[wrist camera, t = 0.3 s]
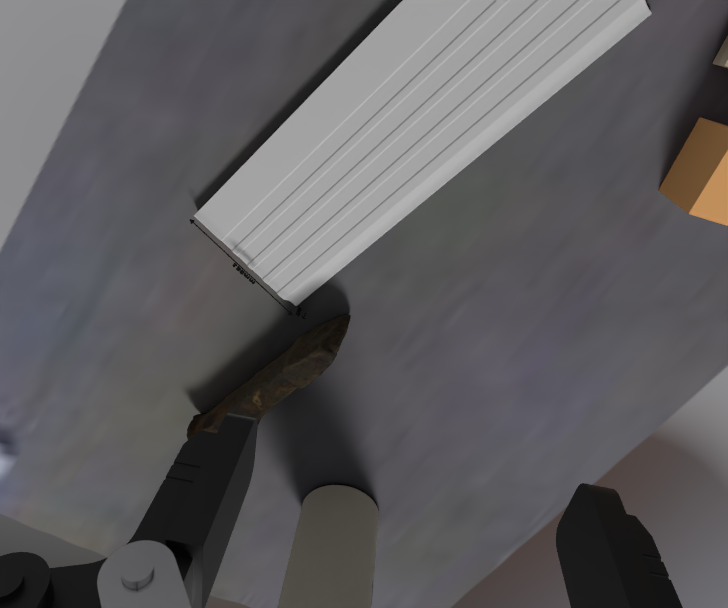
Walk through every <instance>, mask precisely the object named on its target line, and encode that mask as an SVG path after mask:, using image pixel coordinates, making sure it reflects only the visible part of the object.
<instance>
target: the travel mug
mask: <svg viewBox="0 0 728 608" xmlns="http://www.w3.org/2000/svg"><path fill="white" fill-rule="evenodd" d="M378 524H379V511H378V508H377V506H376V504H375V502H374V501H373V500H372V499H371V498H370V497H369V496H368V495H366V494H365V493H363V492H361V491H359V490H357V489H355V488H352V487H348V486H343V485H328V486H323V487H320V488H317V489H315V490H313V491H312V492H310V493H309V494H308V495H307V496H306V498H305V499H304V501H303V504H302V508H301V512H300V516H299V521H298V525H297V529H296V533H295V537H294V541H293V545H292V549H291V553H290V558H289V562H288V566H287V570H286V574H285V578H284V582H283V586H282V591H281V595H280V599H279V603H278V607H277V608H371V605H372V593H373V582H374V570H375V558H376V547H377V535H378Z"/></svg>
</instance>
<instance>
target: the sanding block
mask: <svg viewBox="0 0 728 608" xmlns="http://www.w3.org/2000/svg"><path fill="white" fill-rule="evenodd" d="M659 191H660V192H661V193H663V194H664V195H665V196H666V197H668V198H669V199H670V200H672V201H673V202H674V203H675V204H677V205H678V206H679V207H680V208H682V209H683V210H684V211H686V212H687V213H688V214H691V215H694V216H697V217H701V218H704V219H707V220H711V221H714V222H717V223H720V224H724V225H727V226H728V126H727V125H724V124H720V123H717V122H714V121H711V120H708V119H704V118H701V117H700V118H699V119H698V121H697V123H696V125H695V127H694V128H693V130H692V132H691V134H690V135H689V137H688V139H687V141H686V142H685V144H684V146H683V148H682V149H681V151H680V153H679V155H678V156H677V158H676V160H675V162H674V164H673V165H672V167H671V169H670V171H669V172H668V174H667V176H666V178H665V179H664V181H663V183H662V185H661V186H660V188H659Z"/></svg>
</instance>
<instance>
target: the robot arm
mask: <svg viewBox="0 0 728 608" xmlns="http://www.w3.org/2000/svg"><path fill="white" fill-rule="evenodd" d="M257 425H258V420H257V419H256V418H251V417H246V416H241V415H236V414H231V413H227V414H226V416H225V417H224V419H223V421H222V424H221V426H220V428H219V430H218V432H217V433H213V432H208V431H202V430H200V431H199V432H198V433H197V434H195V435H194V436H193V437H192V438H190V439H189V440H188V441H187V442H186V443H184V444H183V446H182V448H181V450H180V452H179V454H178V455H177V457H176V459H175V461H174V464H173V465H172V466H171V468H170V470H169V472H168V474H167V476H166V479H165V480H164V481H163V483H162V485H161V487H160V488H159V490H158V492H157V494H156V496H155V498H154V499H153V501H152V503H151V505H150V507H149V509H148V510H147V512H146V514H145V516H144V518H143V520H142V521H141V523H140V525H139V527H138V529H137V531H136V532H135V534H134V536H133V537H132V539H131V540H130V541H129V542H128V543H127V544H126V545H124V546H122V547H121V548H119V549H117V550H116V551H115V552H114V553H112V554H111V555H110V556H109V557H108V558H106V559H103V560H101V561H97V562H94V563H89V564H83V565H74V566H66V567H57V568H49V566H48V565H47V563H46V562H45V560H44V559H43V558H41V557H40V556H38V555H36V554H33V553H28V552H17V553H10V554H6V555H3V556H0V608H205V605H206V603H207V600H208V597H209V595H210V592H211V589H212V586H213V584H214V581H215V578H216V575H217V573H218V570H219V567H220V564H221V562H222V559H223V556H224V553H225V551H226V548H227V545H228V542H229V540H230V537H231V534H232V531H233V529H234V526H235V523H236V520H237V517H238V515H239V512H240V509H241V506H242V504H243V501H244V498H245V495H246V493H247V490H248V487H249V484H250V480H251V476H252V472H253V467H254V459H255V448H256V437H257ZM556 547H557V552H558V556H559V560H560V564H561V569H562V573H563V577H564V580H565V585H566V589H567V593H568V597H569V601H570V605H571V608H683V607H682V605H681V603H680V600H679V598H678V596H677V593H676V591H675V589H674V586H673V584H672V582H671V580H669V579H668V576H669V575H668V573H667V571H666V568H665V566H664V563H663V562H661V556H660V554H659V552H658V549H657V547H656V545H655V542H654V540H653V538H652V536H651V535H650V533H649V532H648V531H647V530H646V528H645V527H644V526H643V525H642V524H641V522H640V521H639V520H638V519H637V517H636V516H632V515H628V514H626V512H625V509H624V506H623V504H622V501H621V499H620V497H619V494H618V493H617V491H615V490H614V489H610V488H605V487H600V486H595V485H590V484H584V483H582V484H580V485H579V486H578V488H577V490H576V491H575V493H574V495H573V497H572V499H571V501H570V503H569V505H568V507H567V508H566V510H565V512H564V514H563V516H562V518H561V520H560V522H559V524H558V527H557V533H556Z"/></svg>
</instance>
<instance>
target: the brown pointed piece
mask: <svg viewBox="0 0 728 608" xmlns="http://www.w3.org/2000/svg"><path fill="white" fill-rule="evenodd" d="M349 321H350V315H342V316H339V317H337V318H334V319H332V320H330V321H327V322H325V323H323V324H321V325H319V326H317V327H316V328H315V329H313V330H311V331H310V332H307V333H306V334H304V335H302V336H300V337H299V338H298V339H297V340H296V341H295V342H294V344H293V345H292V346H291V347H290V348H289V349H288V350H287V351H286V352H284V353H283V354H282V355H280V356H279V357H278V358H276V359H275V360H274V361H272V362H271V363H270V364H268V365H267V366H266V367H265V368H263V369H262V370H260V371H259V372H257V373H256V374H255V375H254V376H253V377H252V378H251V379H250V380H248V381H247V382H246V383H244V384H243V385H242V386H240V387H239V388H237V389H236V390H235V391H233V392H232V393H230V394H229V395H227V396H226V398H225V399H224V400H223V401H221V402H220V403H219V404H218V405H217V406H216V407H214V408H213V409H212V410H211V411H210V412H208V413H207V414H204V413H202V414H198V415H195V416H194V417H193V420H192V421H191V422H190V424H189V427H188V429H187V431H188V432H187V438H188V440H189V439H190V438H192V437H193V436H194V435H195V434H197V433H198V432H199V431H200V430H202V431H208V432H213V433H217V432H218V430H219V428H220V426H221V424H222V421H223V419H224V417H225V416H226V414H227V413H231V414H236V415H241V416H246V417H251V418H256V419H257V420H258V424H259V422H260V419H261V417H262V416H263V415H264V414H266V413H267V412H268V411H269V410H271V409H272V408H273V407H275V406H276V405H277V404H278V403H279V402H281V401H282V400H283V399H285V398H286V397H287V396H288V395H289V394H291V393H292V392H293V391H294V390H295V389H297V388H298V387H299V388H304V387H305V386H307V385H308V384H309V383H311V382H312V381H313V380H314V379H315V378H316V377H317V376H319V375H321V374H322V373H323V371H325V370H326V369H327V368H328V367H329V366H330V364H331V363H332V362H333V360H334V359H335V357H336V355H337V352H338V350H339V347H340V345H341V343H342V340H343V338H344V336H345V334H346V332H347V329H348V324H349Z"/></svg>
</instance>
